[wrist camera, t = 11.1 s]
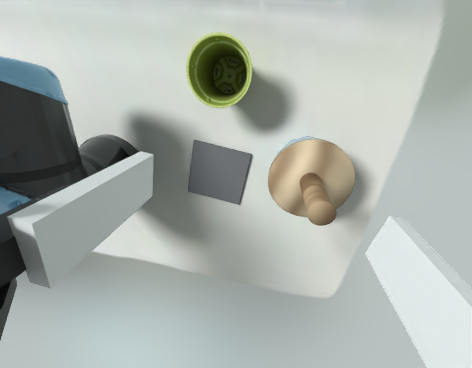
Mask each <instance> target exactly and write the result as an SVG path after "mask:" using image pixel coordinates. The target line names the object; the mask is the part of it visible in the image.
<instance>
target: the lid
mask: <svg viewBox="0 0 472 368" xmlns="http://www.w3.org/2000/svg"><path fill="white" fill-rule="evenodd" d="M354 184H355V169H354V166H353V163H352V161H351V159H350V158H349V157H348V155H347V154H346V153H345V152H344V151H343V150H342V149H341V148H339V147H338V146H337V145H335V144H333V143H331V142H328V141H325V140H320V139H306V140H301V141H298V142H295V143H293V144H291V145H289V146H287V147H286V148H284V149H283V150H282V151H281V152H280V153H279V154H278V155H277V156H276V158H275V159H274V161H273V162H272V164H271V167H270V170H269V177H268V186H269V191H270V194H271V196H272V198H273V200H274V201H275V202H276V203H277V204H278V206H279V207H281V208H282V209H283V210H285V211H287V212H289V213H291V214H293V215H296V216H301V217H308V218H309V220H310V221H311V222H312V223H313V224H315V225H320V226H322V225H327V224H330V223H331V222H332V221H333V220H334V219H335V217H336V210H335V209H337V208H338V207H340V206H341V205H342V204H343V203H344V202H345V201H346V200H347V198H348V197H349V196H350V194H351V192H352V190H353V187H354Z"/></svg>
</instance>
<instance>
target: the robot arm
mask: <svg viewBox="0 0 472 368" xmlns="http://www.w3.org/2000/svg"><path fill="white" fill-rule="evenodd" d="M67 105H68V102H67V101H66V100H65V97H64V94H63V91H62V88H61V85H60V81H59V79H58V77H57V76H56V75H55V74H54V73H53V72H52V71H51V70H49V69H47V68H45V67H43V66H40V65H36V64H32V63H28V62H24V61H19V60H15V59H10V58H5V57H0V340H1V336H2V333H3V329H4V326H5V323H6V320H7V316H8V313H9V310H10V306H11V303H12V300H13V297H14V293H15V290H16V286H17V280H16V277H17V276H18V275H20V274H21V273H22V272H24V271H25V270H26V272H27V275H28V278H29V281H30V282H31V283H34V284H38V285H41V286H44V287H48V288H52V287H53V286H54V285H55V284H56V283H57V282H58V281H59V280H60V279H62V278H63V277H64V276H65V275H66V274H67V273H68V272H69V271H70V270H72V269H73V268H74V267H75V266H76V265H77V264H78V263H79V262H80V261H81V260H83V259H84V257H86V256H87V255H88V254H89V253H90V252H91V251H93V250H94V249H95V248H96V247H97V246H98V245H99V244H100V243H101V242H102V241H104V240H105V239H106V238H107V237H108V236H109V235H110V234H111V233H112V232H114V231H115V230H116V229H117V228H118V227H119V226H120V225H121V224H122V223H123V222H125V221H126V220H127V219H128V218H129V217H130V216H131V215H132V214H133V213H135V212H136V211H137V210H138V209H139V208H140V207H141V206H142V205H143V204H144V203H146V202H147V201H148V200H149V199H150V198H151V197H152V196H153V160H154V155H153V154H150V153H146V152H142V151H140V152H137V151H136V150H135V149H134V148H133V147H132V146H131V145H130V144H129V143H127V142H126V141H125V140H123V139H121V138H119V137H116V136H113V135H99V136H96V137H93V138H90V139H88V140H86V141H85V142H84V143H83V144H82V145H81V146H80V147H79V148H78V145H77V141H76V137H75V133H74V129H73V125H72V121H71V117H70V113H69V110H68V106H67ZM365 255H366V256H367V258H368V260H369V262H370V264H371V265H372V267H373V269H374V271H375V273H376V275H377V277H378V279H379V281H380V282H381V284H382V286H383V288H384V290H385V292H386V294H387V295H388V297H389V299H390V301H391V303H392V305H393V307H394V308H395V310H396V312H397V314H398V316H399V318H400V320H401V321H402V323H403V325H404V327H405V329H406V330H407V332H408V334H409V336H410V338H411V340H412V342H413V344H414V345H415V347H416V349H417V351H418V353H419V355H420V357H421V358H422V360H423V362H424V364H425V366H426V368H472V288H471V287H470V286H469V285H468V284H467V283H466V282H465V281H464V280H463V279H462V278H461V277H460V276H459V274H458V273H456V271H454V269H453V268H452V267H451V266H450V265H449V264H448V263H447V262H446V261H445V260H444V259H443V258H442V257H441V256H440V255H439V254H438V253H437V252H436V251H435V250H434V249H433V248H432V247H431V246H430V245H429V244H428V243H427V242H426V241H425V240H424V239H423V238H422V237H421V236H420V235H419V233H418V232H417V231H415V229H413V227H412V226H411V225H410V224H409V223H408V222H407V221H406V220H405V219H402V218H398V217H394V216H389V217H388V219H387V220H386V222H385V224H384V225H383V227H382V228H381V230H380V231H379V233H378V234H377V236H376V237H375V239H374V240H373V242H372V244H371V245H370V247H369V248H368V250H367V251H366V253H365Z"/></svg>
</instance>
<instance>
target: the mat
mask: <svg viewBox="0 0 472 368" xmlns="http://www.w3.org/2000/svg"><path fill="white" fill-rule="evenodd" d="M250 158H251V154H249V153H245V152H241V151H237V150H233V149H229V148H225V147H221V146H217V145H213V144H209V143H205V142H201V141H197V140H194V143H193V152H192V161H191V170H190V178H189V187H188V191H190V192H193V193H197V194H201V195H205V196H208V197H212V198H216V199H220V200H223V201H227V202H231V203H235V204H238V205H239V202H240V198H241V194H242V190H243V186H244V182H245V178H246V174H247V170H248V166H249V162H250Z"/></svg>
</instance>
